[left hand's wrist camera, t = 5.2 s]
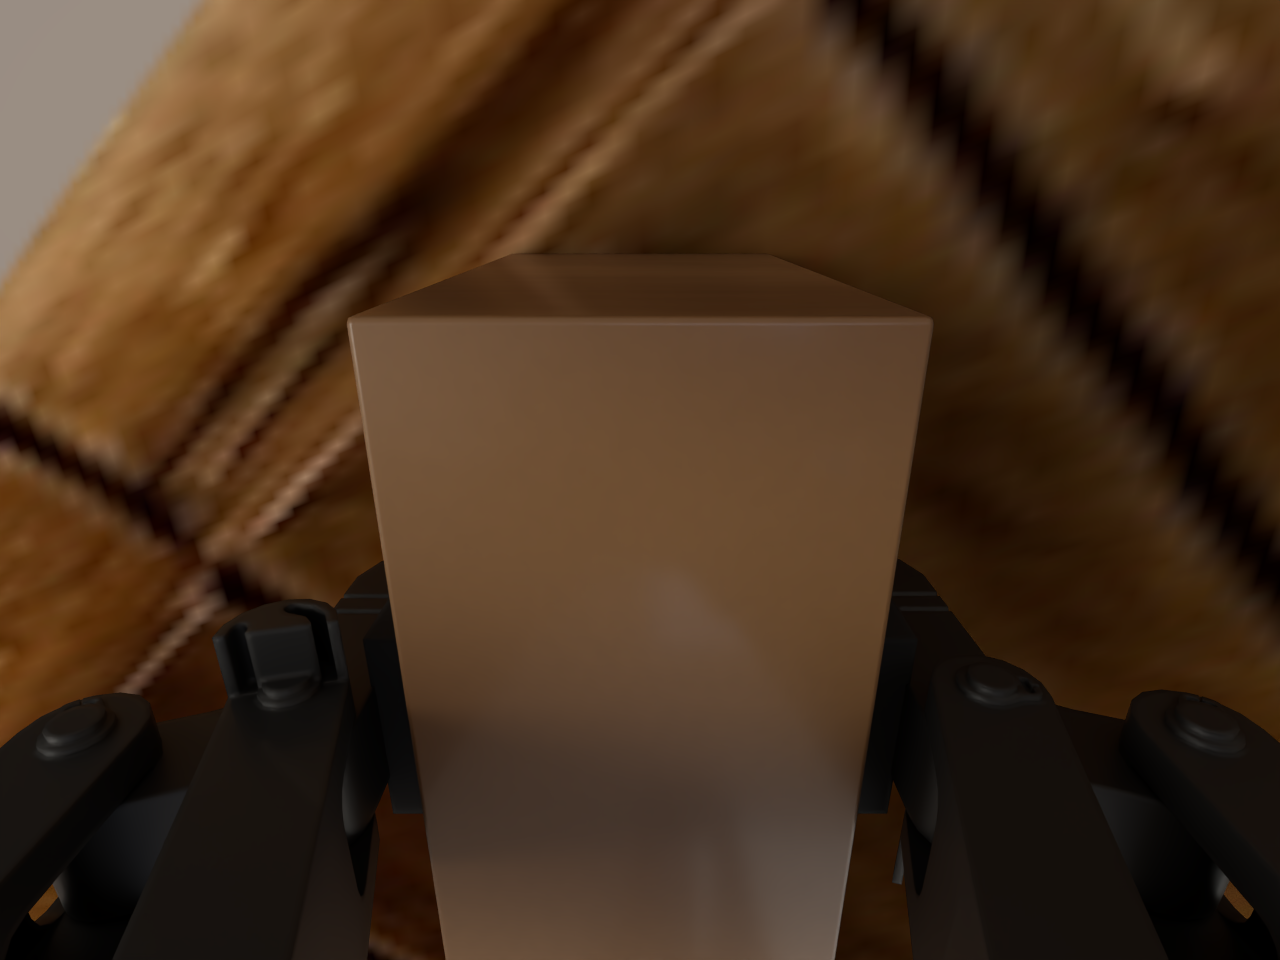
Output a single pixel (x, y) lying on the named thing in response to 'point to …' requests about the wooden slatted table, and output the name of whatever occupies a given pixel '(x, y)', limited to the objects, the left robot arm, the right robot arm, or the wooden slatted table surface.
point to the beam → (640, 591)
